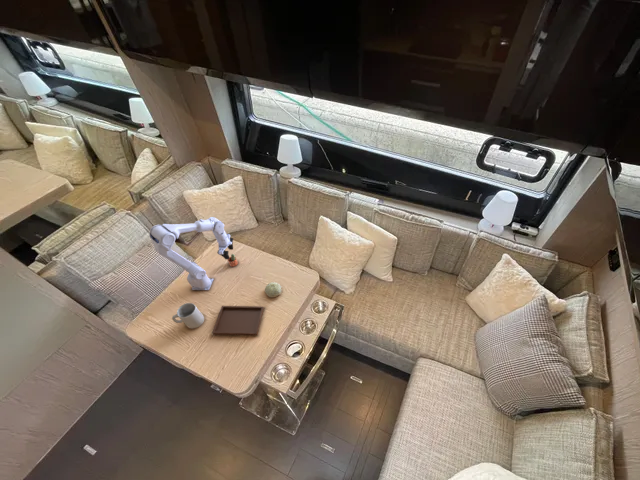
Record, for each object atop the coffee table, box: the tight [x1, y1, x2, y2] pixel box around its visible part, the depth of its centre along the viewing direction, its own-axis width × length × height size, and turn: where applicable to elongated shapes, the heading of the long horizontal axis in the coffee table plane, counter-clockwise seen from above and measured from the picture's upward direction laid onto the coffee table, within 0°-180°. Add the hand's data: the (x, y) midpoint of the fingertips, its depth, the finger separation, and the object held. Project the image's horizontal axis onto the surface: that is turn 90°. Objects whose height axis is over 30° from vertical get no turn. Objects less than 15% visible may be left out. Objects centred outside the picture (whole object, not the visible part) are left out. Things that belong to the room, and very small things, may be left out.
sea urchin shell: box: [264, 281, 283, 298], centre depth 153 cm, size 9×8×8 cm
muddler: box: [230, 253, 236, 262], centre depth 164 cm, size 2×2×8 cm
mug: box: [171, 302, 205, 329], centre depth 137 cm, size 12×8×11 cm
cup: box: [227, 256, 239, 268], centre depth 165 cm, size 5×5×4 cm
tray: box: [211, 305, 265, 336], centre depth 141 cm, size 22×16×2 cm
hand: (229, 254), depth 160 cm, fingers open, 7 cm apart
